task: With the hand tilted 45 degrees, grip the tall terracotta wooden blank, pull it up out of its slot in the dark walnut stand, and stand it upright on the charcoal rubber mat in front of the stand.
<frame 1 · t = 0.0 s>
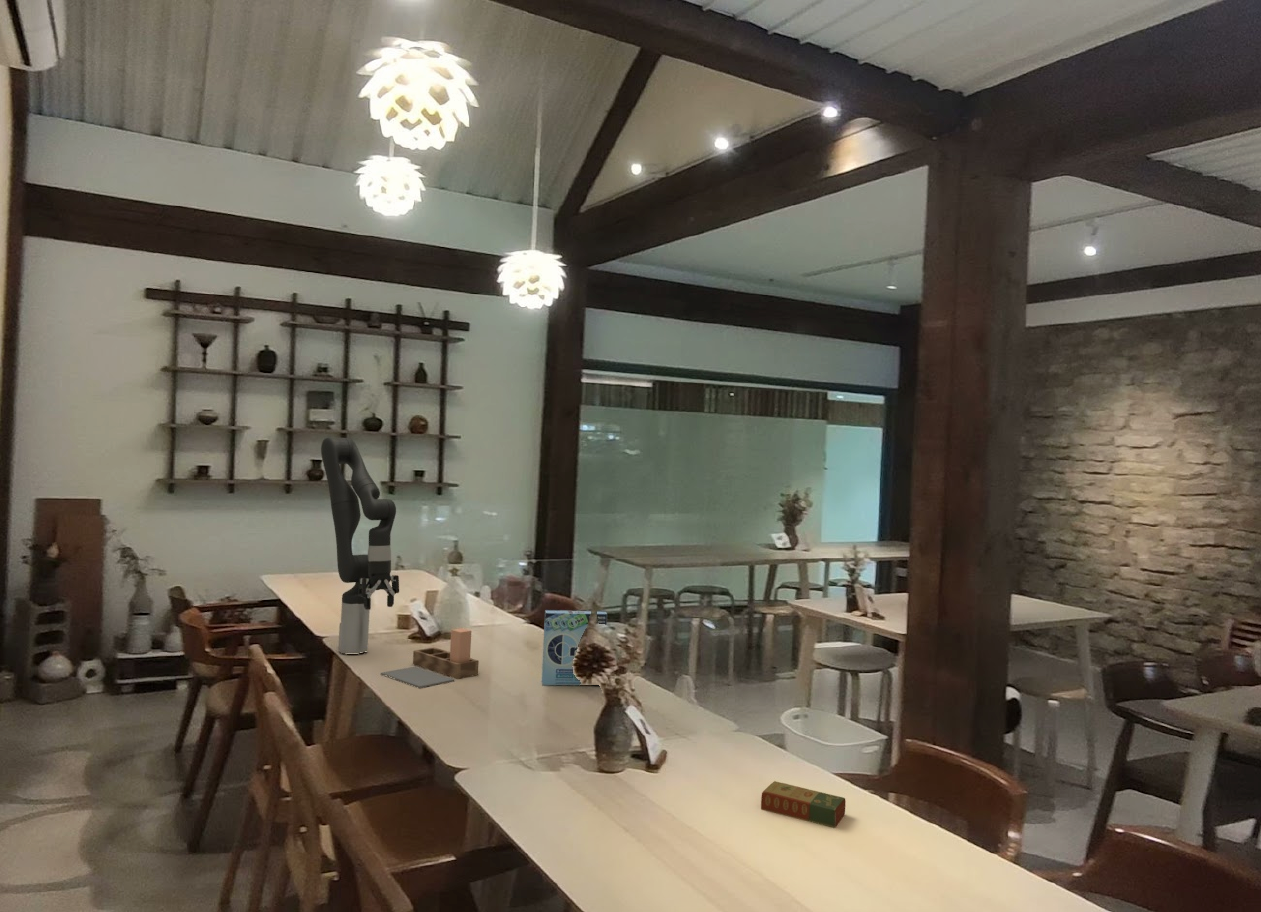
hand: (378, 608, 300), 17 cm above the table, tool pointing down, fingers open, 8 cm apart
gum box: (572, 684, 283), on the table
mat: (417, 677, 281), on the table
carton: (802, 814, 192), on the table
stand: (444, 669, 292), on the table
blank: (459, 674, 288), resting in stand
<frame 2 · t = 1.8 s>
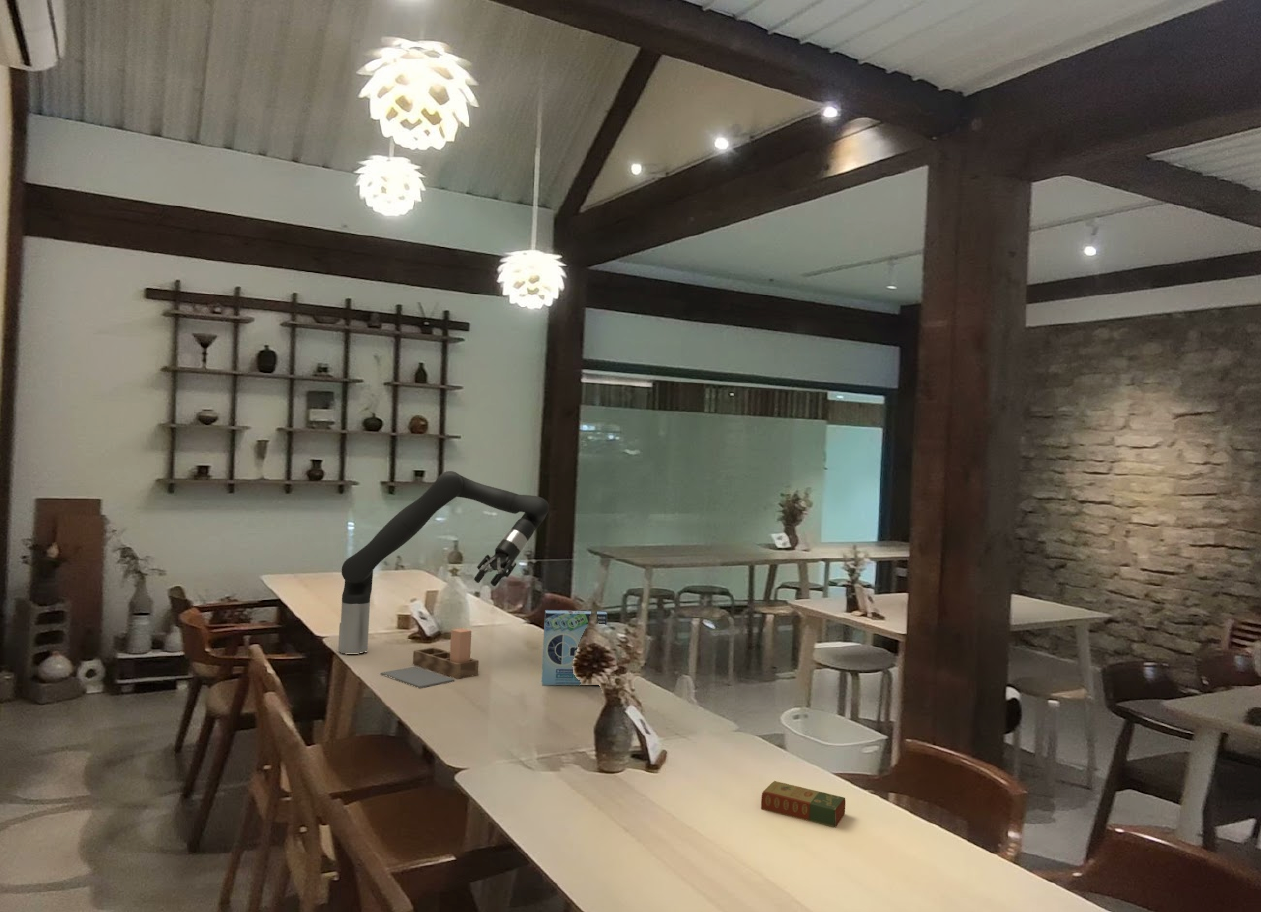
hand: (484, 583, 299), 28 cm above the table, tool tilted 45°, fingers open, 8 cm apart
nothing on the table moved.
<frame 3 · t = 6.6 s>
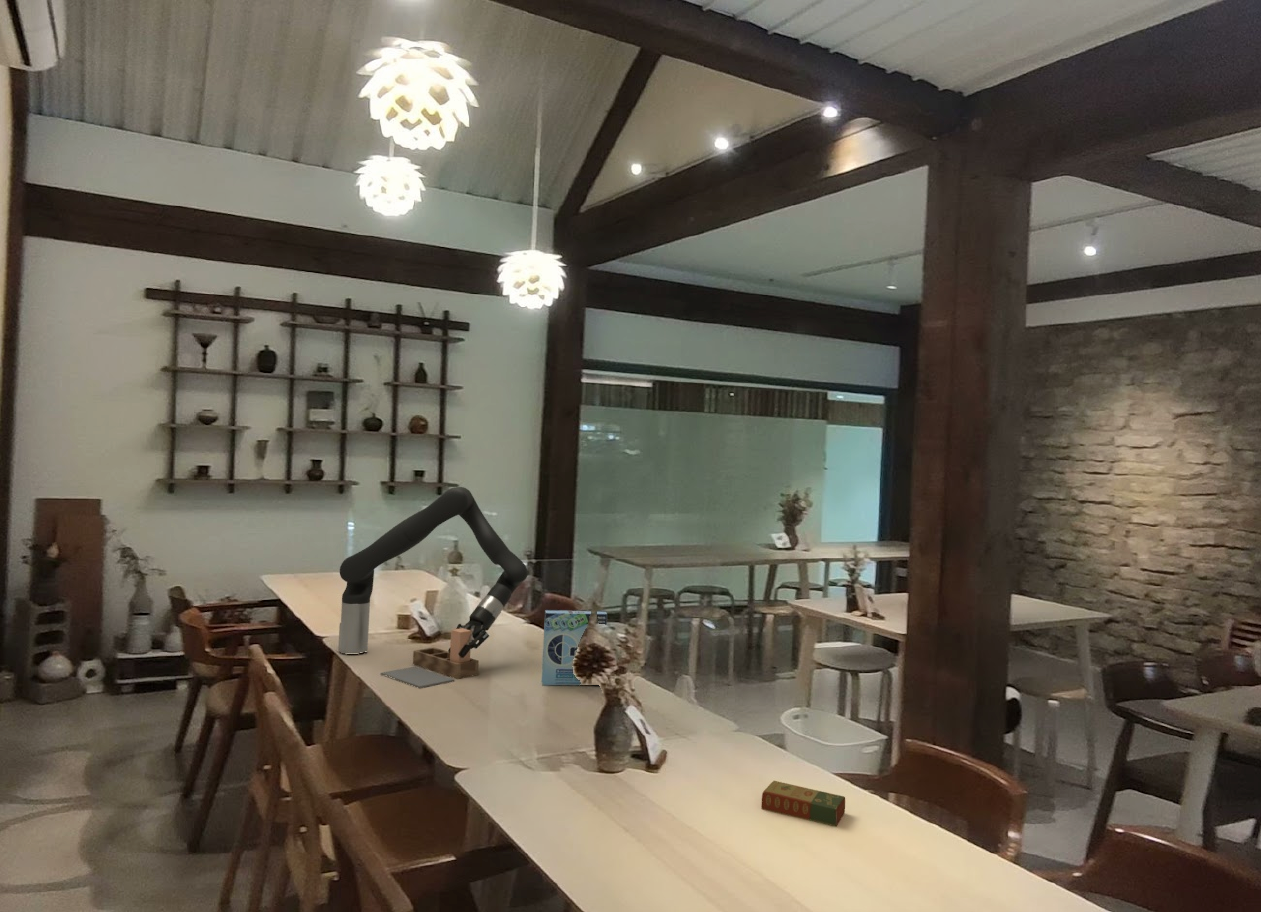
hand: (455, 654, 286), 7 cm above the table, tool tilted 45°, fingers closed on blank, 4 cm apart
blank: (459, 674, 288), resting in stand, touching gripper
everything else where it was.
when the fingers open (9 cm above the table, at t = 12.9 s): blank drops 1 cm, resting on mat.
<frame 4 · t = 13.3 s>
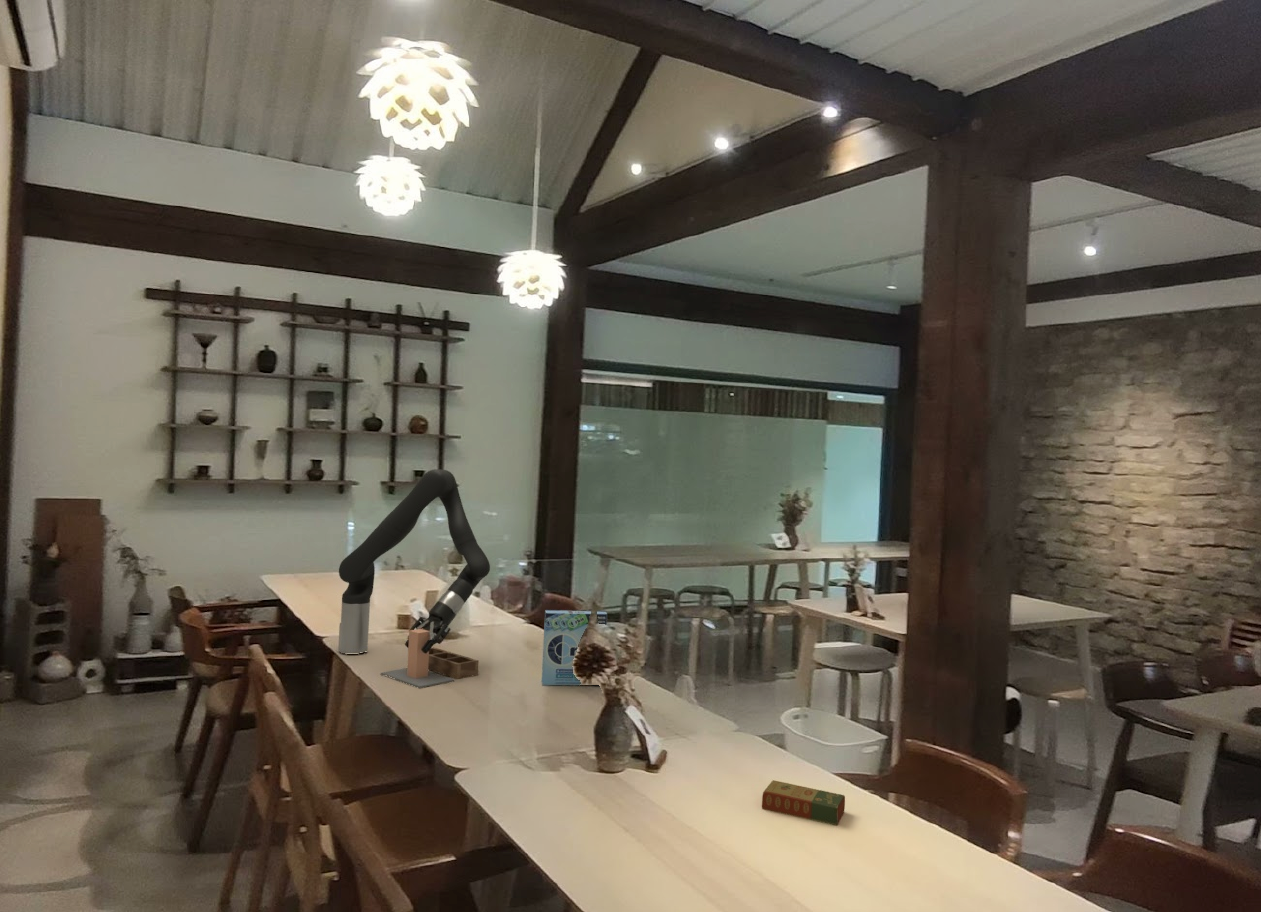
hand: (415, 649, 279), 9 cm above the table, tool tilted 45°, fingers open, 8 cm apart
blank: (417, 675, 281), point 1 cm above the table, touching mat
everything else where it was.
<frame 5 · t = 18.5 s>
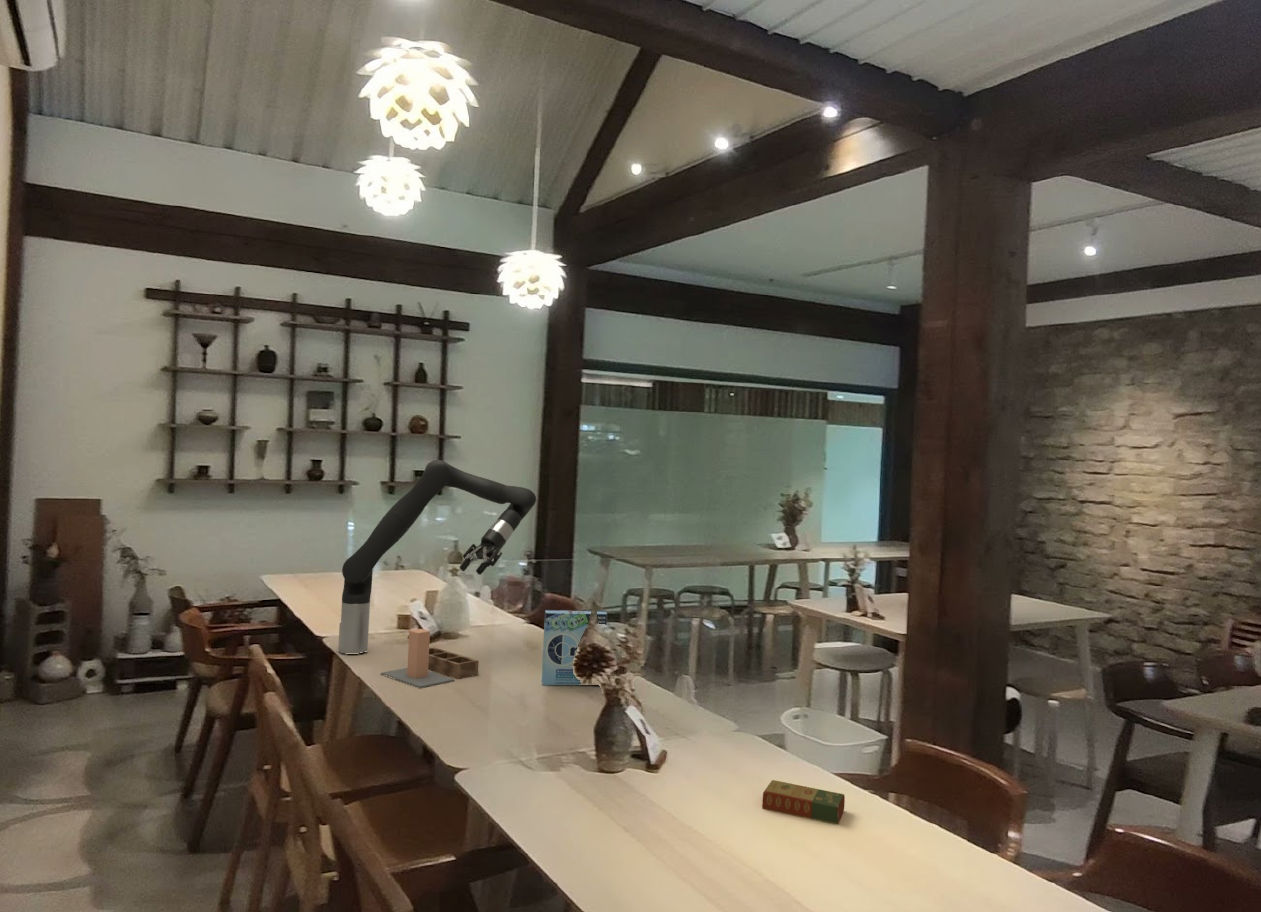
hand: (469, 571, 302), 31 cm above the table, tool tilted 45°, fingers open, 8 cm apart
at the end: blank inside the target area on the mat (0.1 cm from its centre), point 0.6 cm above the mat's base; blank tilted 0°; the gripper is holding nothing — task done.
